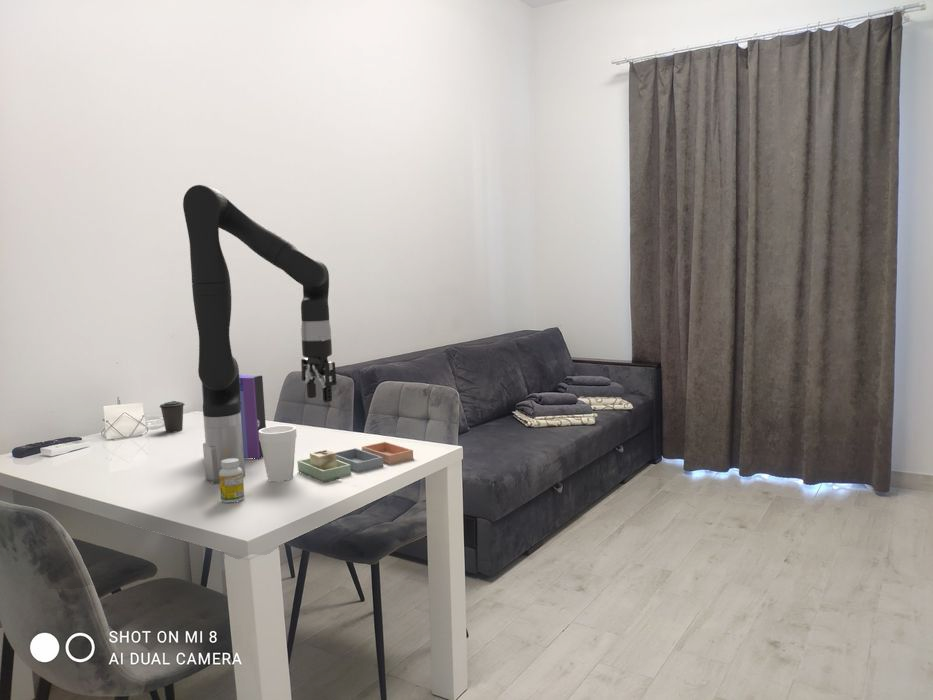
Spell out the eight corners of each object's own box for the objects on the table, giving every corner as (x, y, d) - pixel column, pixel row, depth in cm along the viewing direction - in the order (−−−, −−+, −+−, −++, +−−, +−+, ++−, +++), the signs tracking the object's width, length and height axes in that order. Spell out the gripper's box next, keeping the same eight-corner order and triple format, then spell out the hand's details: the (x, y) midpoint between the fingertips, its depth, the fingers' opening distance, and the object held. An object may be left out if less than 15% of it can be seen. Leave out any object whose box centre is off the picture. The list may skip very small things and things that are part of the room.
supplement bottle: (243, 502, 165) (240, 462, 164) (219, 504, 164) (216, 464, 163) (245, 495, 170) (243, 456, 169) (222, 497, 169) (219, 458, 168)
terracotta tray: (389, 466, 191) (389, 455, 190) (362, 457, 201) (361, 446, 201) (413, 460, 196) (412, 450, 195) (385, 451, 206) (385, 441, 206)
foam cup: (296, 471, 189) (293, 423, 188) (301, 480, 181) (298, 430, 179) (260, 476, 186) (256, 427, 184) (263, 485, 177) (260, 435, 176)
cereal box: (207, 456, 208) (201, 376, 205) (217, 452, 212) (211, 374, 210) (258, 459, 203) (252, 377, 200) (267, 455, 207) (262, 374, 204)
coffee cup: (182, 426, 251) (180, 399, 250) (189, 430, 244) (187, 402, 243) (158, 430, 246) (156, 402, 244) (165, 434, 239) (163, 405, 238)
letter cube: (319, 475, 182) (318, 456, 182) (311, 471, 186) (309, 452, 185) (337, 471, 185) (335, 452, 185) (327, 467, 189) (326, 448, 189)
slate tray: (357, 474, 184) (357, 463, 184) (331, 464, 195) (330, 453, 195) (383, 468, 189) (382, 457, 189) (356, 458, 200) (355, 448, 200)
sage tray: (323, 482, 178) (323, 471, 177) (298, 471, 188) (297, 460, 188) (351, 475, 183) (350, 464, 183) (324, 465, 194) (324, 455, 193)
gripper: (290, 337, 185) (294, 398, 187) (316, 340, 174) (319, 405, 176) (316, 335, 189) (319, 394, 191) (343, 338, 179) (346, 401, 180)
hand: (319, 399), depth 183 cm, fingers open, 8 cm apart
